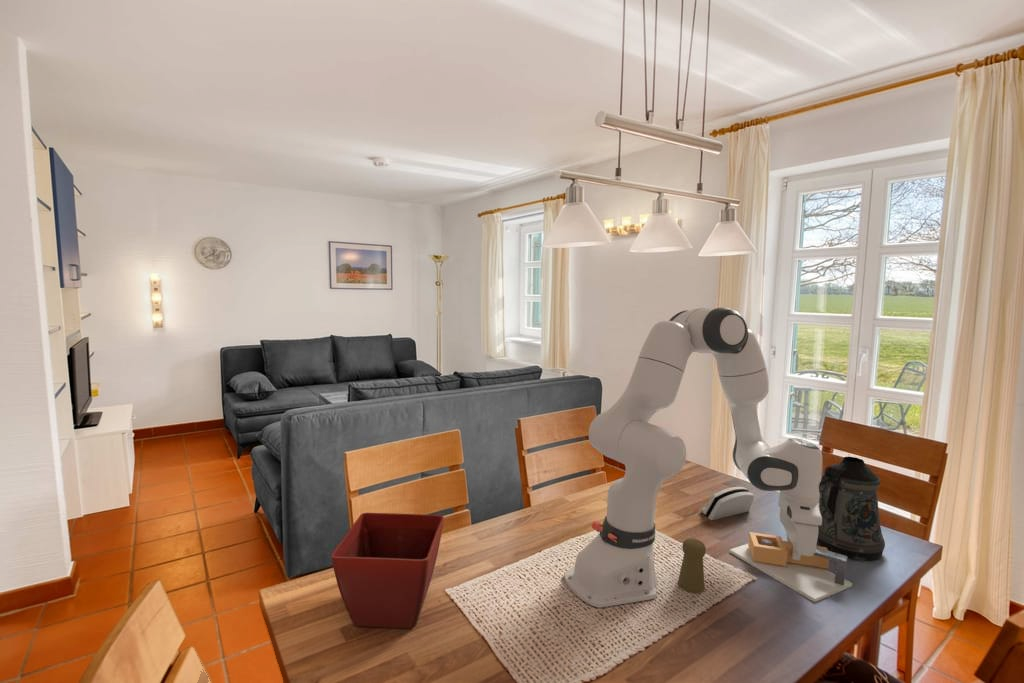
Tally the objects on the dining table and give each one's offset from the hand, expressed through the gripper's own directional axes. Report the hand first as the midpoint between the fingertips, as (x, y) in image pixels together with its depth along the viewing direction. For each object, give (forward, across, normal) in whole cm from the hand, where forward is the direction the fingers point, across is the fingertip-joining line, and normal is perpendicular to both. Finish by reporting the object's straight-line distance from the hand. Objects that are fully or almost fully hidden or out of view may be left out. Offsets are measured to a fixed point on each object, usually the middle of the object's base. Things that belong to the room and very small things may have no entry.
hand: (793, 554), depth 127 cm
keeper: (+3, +5, +7) cm, 9 cm away
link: (+2, 0, -1) cm, 2 cm away
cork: (+3, +18, -25) cm, 31 cm away
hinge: (+3, -26, -12) cm, 29 cm away
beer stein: (+3, -15, +16) cm, 22 cm away
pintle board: (+3, +2, -2) cm, 4 cm away
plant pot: (+3, +49, -88) cm, 100 cm away
